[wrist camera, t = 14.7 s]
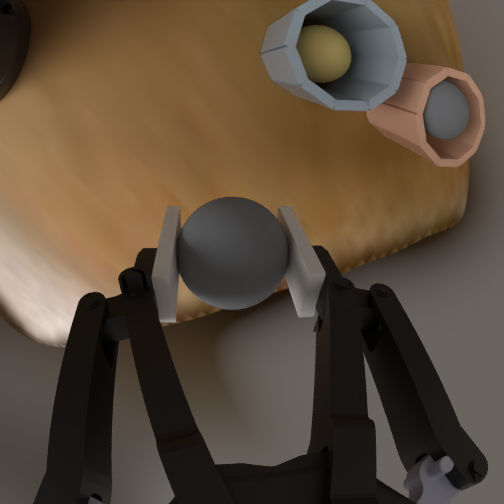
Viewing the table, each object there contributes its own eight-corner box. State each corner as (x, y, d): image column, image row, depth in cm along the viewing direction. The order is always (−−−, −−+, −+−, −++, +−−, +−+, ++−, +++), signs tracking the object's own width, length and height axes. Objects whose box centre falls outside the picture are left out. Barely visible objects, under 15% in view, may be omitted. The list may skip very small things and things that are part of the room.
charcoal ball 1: (183, 264, 20) (176, 333, 15) (179, 180, 16) (164, 233, 12) (271, 264, 21) (289, 330, 16) (282, 182, 17) (311, 234, 12)
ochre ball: (327, 87, 27) (351, 95, 23) (273, 70, 26) (288, 74, 21) (343, 39, 24) (370, 38, 19) (289, 19, 22) (307, 12, 18)
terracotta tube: (352, 124, 30) (402, 149, 22) (377, 46, 24) (434, 48, 16) (413, 149, 32) (464, 180, 24) (436, 81, 27) (494, 97, 19)
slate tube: (251, 84, 26) (270, 90, 18) (276, -1, 21) (306, -29, 13) (337, 109, 29) (384, 129, 20) (361, 30, 23) (416, 25, 15)
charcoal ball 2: (402, 130, 26) (405, 116, 20) (415, 81, 23) (419, 58, 18) (454, 153, 23) (468, 145, 18) (466, 103, 21) (481, 85, 16)
